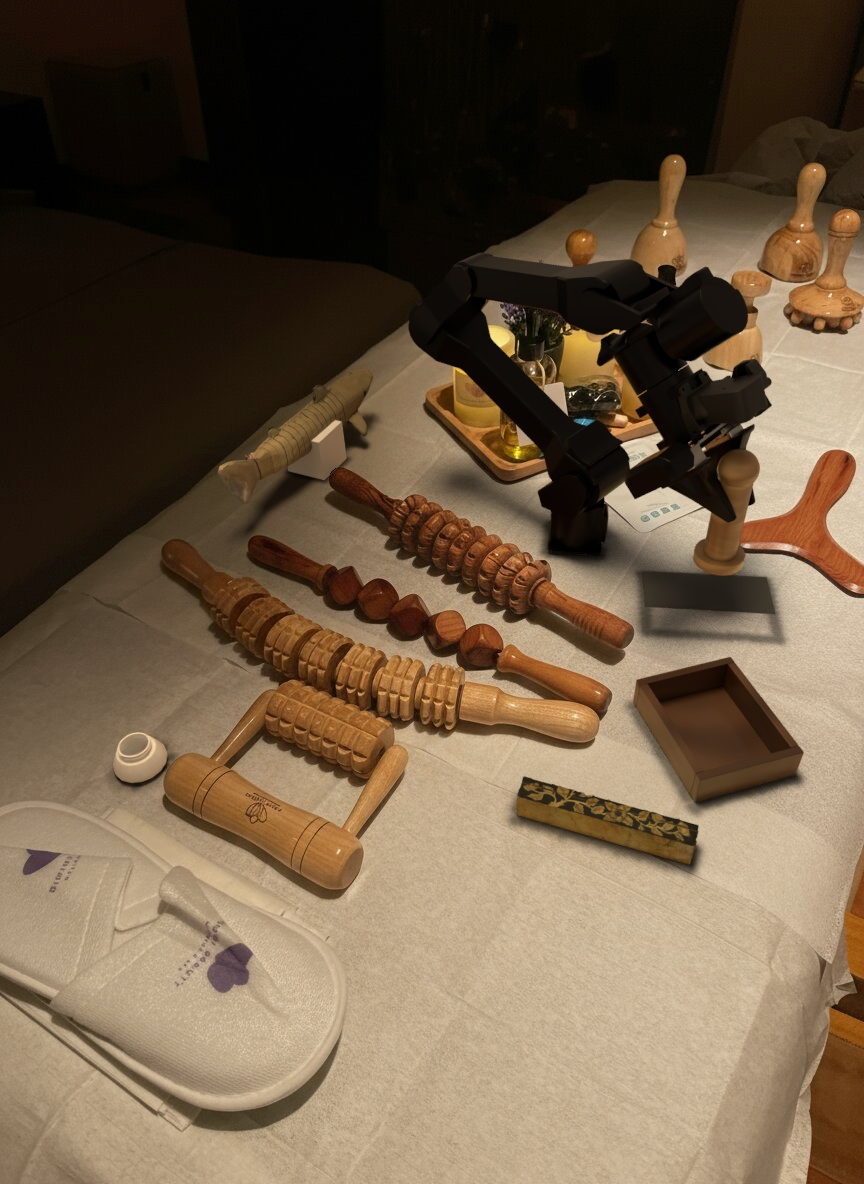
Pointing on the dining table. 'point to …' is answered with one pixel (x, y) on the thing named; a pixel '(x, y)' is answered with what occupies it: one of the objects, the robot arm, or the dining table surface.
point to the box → (716, 729)
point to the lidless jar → (139, 758)
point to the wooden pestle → (723, 538)
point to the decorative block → (607, 820)
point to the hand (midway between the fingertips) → (741, 512)
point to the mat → (707, 592)
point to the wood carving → (305, 437)
